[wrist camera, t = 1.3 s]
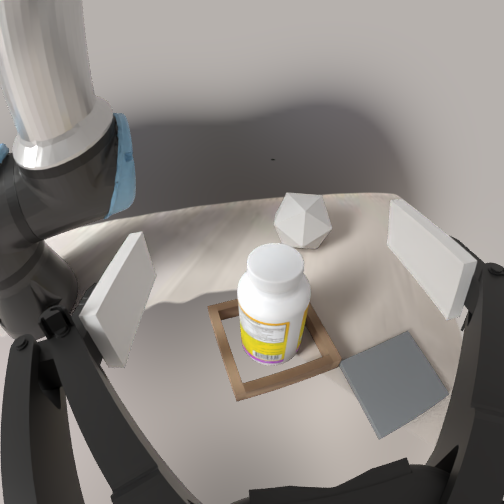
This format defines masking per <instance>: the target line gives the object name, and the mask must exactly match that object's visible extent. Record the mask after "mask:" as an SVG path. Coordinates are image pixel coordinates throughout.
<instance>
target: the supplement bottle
mask: <svg viewBox="0 0 504 504" xmlns="http://www.w3.org/2000/svg"><path fill="white" fill-rule="evenodd" d="M303 272H304V260H303V257H302V255H301V254H300V253H299V252H298V251H297V250H296V249H294V248H293V247H291V246H288V245H285V244H281V243H268V244H264V245H261V246H259V247H257V248H255V249H254V250H253V251H252V252H251V253H250V255H249V256H248V260H247V271H246V272H245V273H244V274H243V276H242V277H241V279H240V281H239V284H238V289H237V294H238V306H239V318H240V328H241V339H242V345H243V348H244V350H245V352H246V354H247V355H248V356H249V357H250V358H251V359H253V360H254V361H256V362H258V363H260V364H263V365H279V364H282V363H285V362H287V361H289V360H290V359H292V358H293V357H294V356H295V354H296V353H297V352H298V350H299V347H300V344H301V340H302V335H303V330H304V326H305V321H306V316H307V311H308V307H309V302H310V297H311V288H310V284H309V281H308V279H307V277H306V276H305V274H304V273H303Z"/></svg>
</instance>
